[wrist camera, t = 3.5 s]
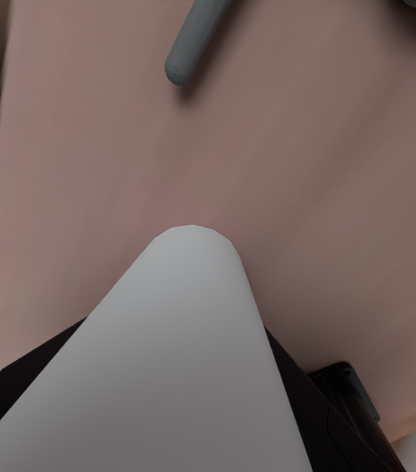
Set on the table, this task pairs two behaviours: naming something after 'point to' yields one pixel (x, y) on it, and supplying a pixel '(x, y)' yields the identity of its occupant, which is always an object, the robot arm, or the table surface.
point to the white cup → (162, 376)
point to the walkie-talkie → (199, 38)
